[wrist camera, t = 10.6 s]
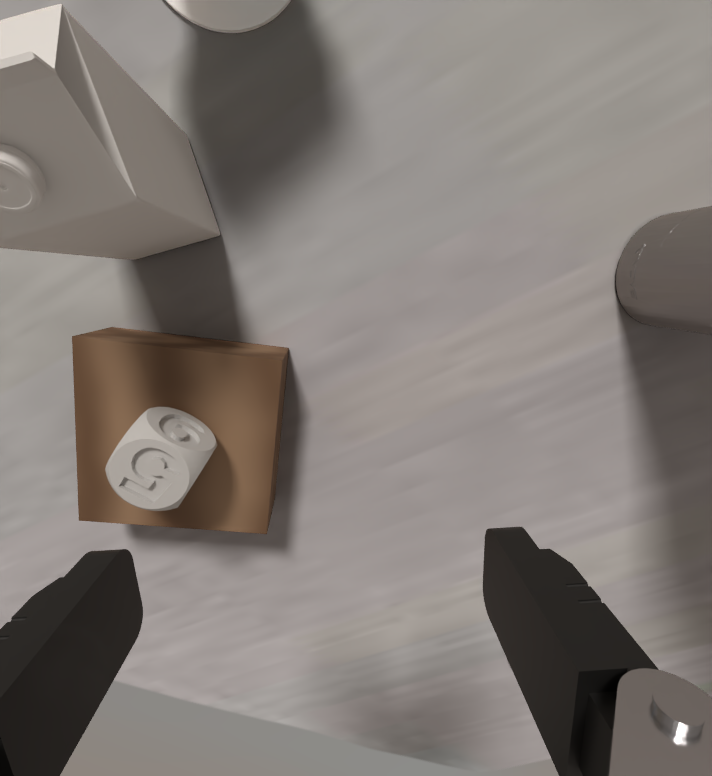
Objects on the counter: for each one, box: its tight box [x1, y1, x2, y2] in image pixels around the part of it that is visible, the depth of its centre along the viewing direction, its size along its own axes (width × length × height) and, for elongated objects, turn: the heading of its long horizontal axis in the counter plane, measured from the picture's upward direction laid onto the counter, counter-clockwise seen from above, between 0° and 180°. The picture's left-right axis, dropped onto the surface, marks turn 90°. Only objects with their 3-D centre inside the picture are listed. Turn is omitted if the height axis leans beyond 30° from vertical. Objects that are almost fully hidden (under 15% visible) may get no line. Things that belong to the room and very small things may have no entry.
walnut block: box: [72, 327, 289, 534], centre depth 33 cm, size 14×14×6 cm
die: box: [105, 407, 217, 511], centre depth 28 cm, size 5×5×5 cm
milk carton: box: [0, 4, 220, 260], centre depth 22 cm, size 7×7×19 cm
